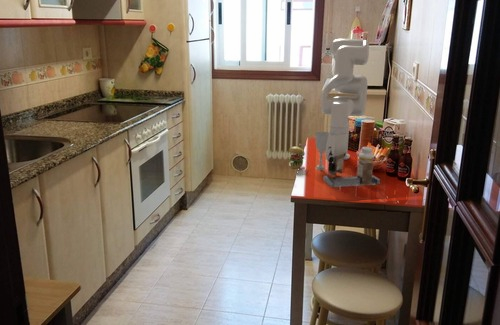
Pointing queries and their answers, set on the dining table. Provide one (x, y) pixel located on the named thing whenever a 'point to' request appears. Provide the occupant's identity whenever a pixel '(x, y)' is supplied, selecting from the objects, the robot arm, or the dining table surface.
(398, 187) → the dining table surface
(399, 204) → the dining table surface
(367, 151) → the supplement bottle
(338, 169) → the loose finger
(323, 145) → the chalice
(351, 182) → the rail
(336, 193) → the dining table surface
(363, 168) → the mounted finger
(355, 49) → the robot arm
